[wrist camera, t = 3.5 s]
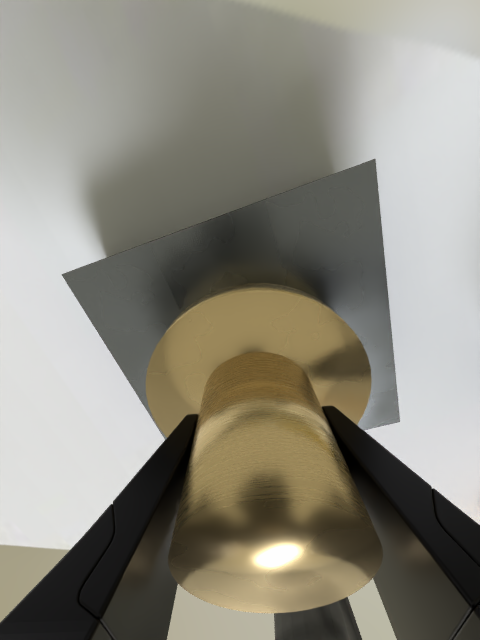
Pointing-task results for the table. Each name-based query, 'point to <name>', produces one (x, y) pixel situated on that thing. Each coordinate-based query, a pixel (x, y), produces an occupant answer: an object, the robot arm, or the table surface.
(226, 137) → the table surface
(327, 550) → the end cover
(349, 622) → the beverage cup
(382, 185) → the table surface
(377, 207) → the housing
